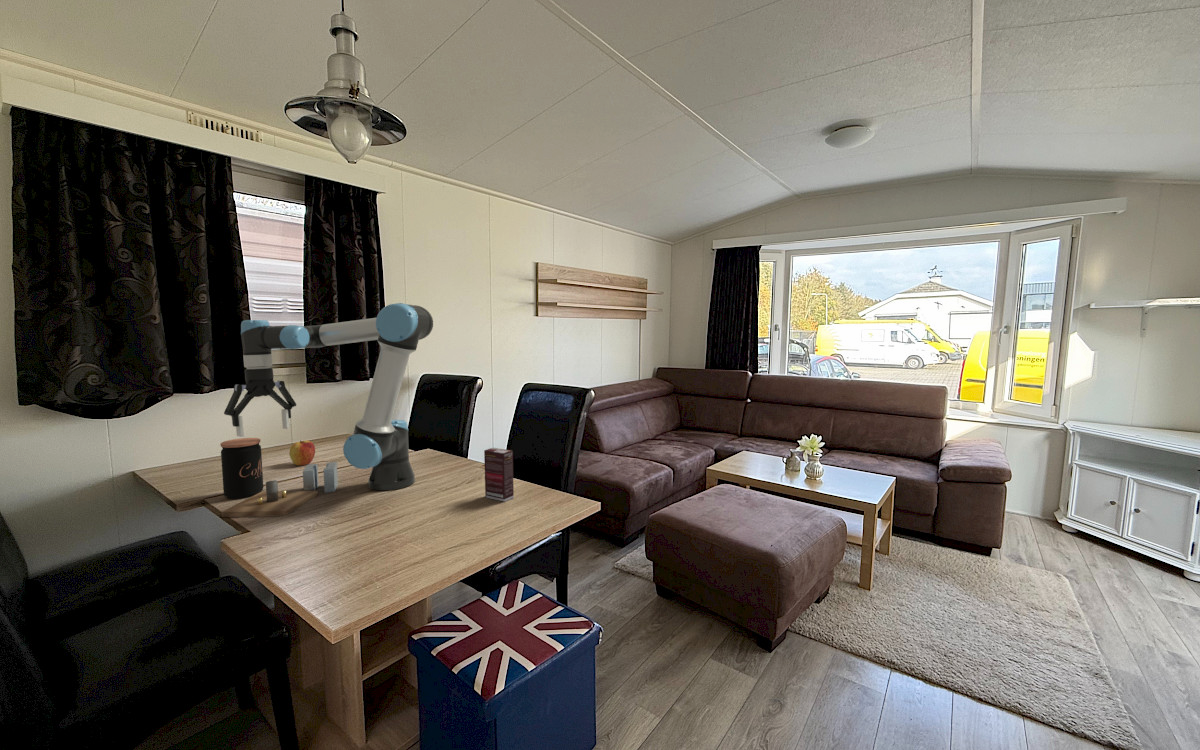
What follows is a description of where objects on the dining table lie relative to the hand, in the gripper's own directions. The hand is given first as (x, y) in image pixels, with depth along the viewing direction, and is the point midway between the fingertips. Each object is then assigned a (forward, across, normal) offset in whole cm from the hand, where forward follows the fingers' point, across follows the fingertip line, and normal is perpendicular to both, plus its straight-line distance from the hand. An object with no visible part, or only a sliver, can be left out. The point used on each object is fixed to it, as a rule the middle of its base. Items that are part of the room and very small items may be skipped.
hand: (264, 432), depth 157 cm
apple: (+21, -26, -28) cm, 43 cm away
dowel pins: (+20, +4, +12) cm, 23 cm away
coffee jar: (+21, +4, -8) cm, 23 cm away
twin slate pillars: (+21, -12, +9) cm, 26 cm away
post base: (+21, +4, +12) cm, 25 cm away
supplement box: (+23, -36, +68) cm, 80 cm away
